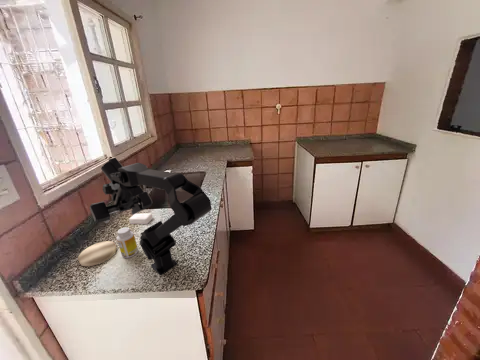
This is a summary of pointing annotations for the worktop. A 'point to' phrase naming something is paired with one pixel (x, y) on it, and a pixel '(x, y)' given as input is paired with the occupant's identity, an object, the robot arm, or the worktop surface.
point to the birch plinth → (97, 253)
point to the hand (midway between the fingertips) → (119, 217)
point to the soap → (140, 218)
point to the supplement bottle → (127, 242)
